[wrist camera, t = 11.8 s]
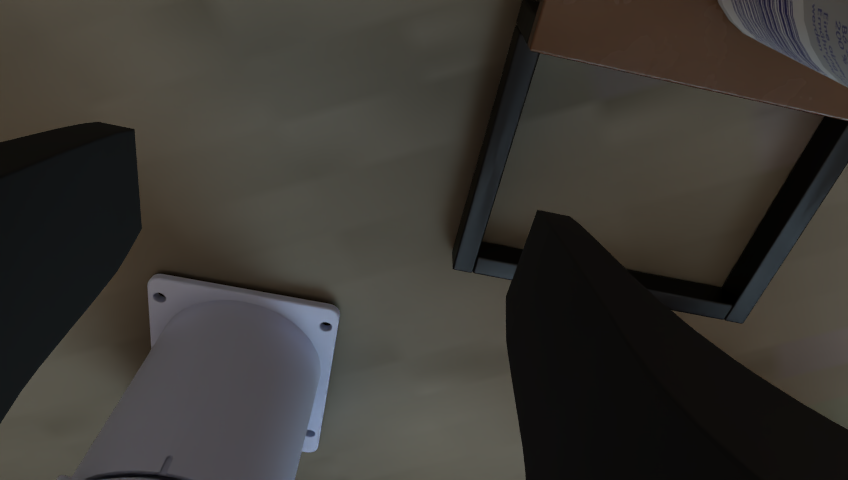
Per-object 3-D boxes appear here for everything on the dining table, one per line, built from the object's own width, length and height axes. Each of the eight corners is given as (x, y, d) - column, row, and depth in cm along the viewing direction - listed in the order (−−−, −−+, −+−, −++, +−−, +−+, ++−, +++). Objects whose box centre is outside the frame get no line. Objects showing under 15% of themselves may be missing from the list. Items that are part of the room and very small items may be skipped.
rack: (730, 305, 24) (787, 389, 20) (451, 252, 23) (453, 329, 19) (1068, -235, 15) (1297, -276, 11) (622, -362, 14) (695, -461, 10)
